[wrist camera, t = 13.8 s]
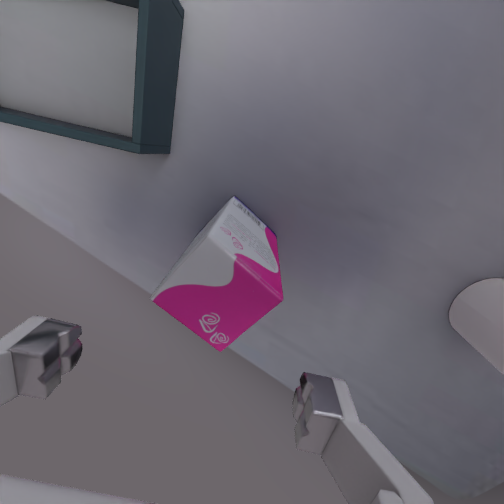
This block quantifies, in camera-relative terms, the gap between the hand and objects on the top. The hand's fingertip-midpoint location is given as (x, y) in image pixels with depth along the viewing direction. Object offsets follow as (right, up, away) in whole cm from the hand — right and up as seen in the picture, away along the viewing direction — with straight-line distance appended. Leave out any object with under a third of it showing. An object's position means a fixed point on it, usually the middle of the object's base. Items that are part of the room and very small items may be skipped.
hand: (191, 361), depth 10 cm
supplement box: (+1, +5, +16) cm, 17 cm away
